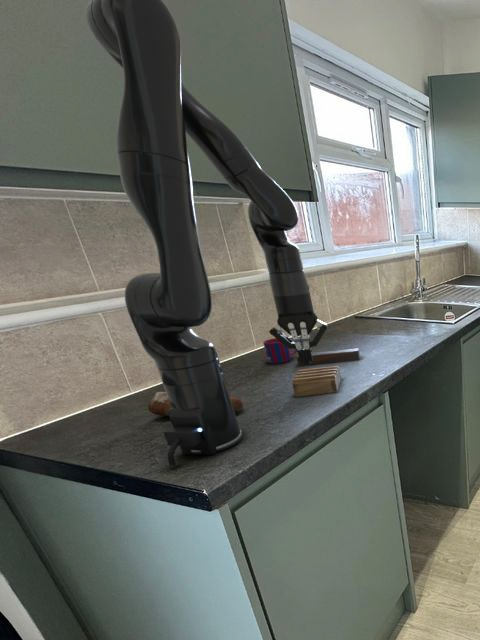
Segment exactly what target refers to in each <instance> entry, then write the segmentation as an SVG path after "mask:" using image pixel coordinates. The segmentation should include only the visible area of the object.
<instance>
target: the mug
mask: <svg viewBox="0 0 480 640" xmlns="http://www.w3.org/2000/svg"><path fill="white" fill-rule="evenodd" d="M290 339H291V340H292V341H293V339H292V337H291V338H290ZM263 347H264V351H265V355H266V358H267V363H268V364H270V365H280V364H284V363H288V362H291V361H292V356H293V355H295V354H296V353H298V351H297V350H296V349H294V351H292V352H291V349H289V348H288V347H286V346H285V345H284V344H283V343H281V342H280V341H279V340H278V339H276V338H275V337H274V338H269V339H266V340H264V341H263Z"/></svg>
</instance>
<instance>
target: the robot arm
mask: <svg viewBox="0 0 480 640" xmlns="http://www.w3.org/2000/svg"><path fill="white" fill-rule="evenodd" d="M85 19H86V23H87V26H88V29H89V30H90V32H91V34H92V35H93V37H94V38H95V40H96V41H97V42H98V44H99V45H100V46H101V47H102V49H103V50H105V52H106V53H107V54H108V55H109V56H110V57H111V59H113V60H114V61H115V62H116V63H117V64H118V65H119V66H120V67H121V68H122V70H123V83H124V84H123V93H122V98H121V103H120V109H119V113H118V119H117V125H116V136H115V137H116V138H115V148H116V156H117V157H116V158H117V163H118V171H119V177H120V181H121V185H122V188H123V191H124V193H125V195H126V196H127V198H128V200H129V202H130V204H131V205H132V206H133V208H134V209H135V211H136V213H137V214H138V215H139V217H140V218H141V219H142V221H143V223H144V224H145V225H146V227H147V229H148V230H149V232H150V234H151V236H152V237H153V240H154V244H155V247H156V250H157V257H158V263H159V272H158V273H155V272H154V273H152V272H151V273H141V274H138V275H136V276H134V277H132V278H131V279H130V280H129V281H128V282H127V284H126V286H125V289H124V302H125V307H126V310H127V313H128V316H129V318H130V320H131V323H132V325H133V328H134V329H135V332H136V334H137V336H138V338H139V341H140V343H141V346H142V347H143V350H144V351H145V352H146V353H147V355H148V356H149V357H150V358H151V359H152V360H153V361H154V363H155V366H156V369H157V371H158V374H159V377H160V379H161V382H162V385H163V388H164V390H165V391H164V392H166V394H167V397H168V399H169V402H170V405H171V408H170V409H168V414H169V416H168V418H169V420H170V422H171V427H170V428H168V429H166V430H164V431H163V432H162V433H163V436H164V438H165V441H166V443H167V446H168V447H169V449H168V451H167V461H168V464H169V466H171V467H175V466H176V465H177V463H176V459H175V452H176V450H177V448H178V447H180V450H181V453H182V455H183V456H185V455H186V456H187V455H189V456H192V455H193V456H212V455H215V454H217V453H218V452H221V451H224V450H227V449H229V448H231V447H233V446H235V445H237V444H238V443H239V442H241V440H242V439H243V433H242V430H241V428H240V426H239V422H238V418H237V416H236V415H237V414H236V413H235V412H234V408H233V405H232V402H231V399H230V397H231V395H230V393H229V389H228V386H227V382H226V379H225V376H224V373H223V368H222V365H221V362H220V359H219V356H218V355H219V354H218V351H217V349H216V346H215V345H214V343H213V342H211V341H209V340H207V339H206V338H203V337H201V336H200V335H198V334H197V333H196V332H195V331H194V330H193V329H192V328H195V327H199V326H201V325H203V324H204V323H206V322H207V321H208V319H209V318H210V315H211V313H212V307H213V297H212V291H211V285H210V282H209V277H208V273H207V269H206V265H205V259H204V256H203V253H202V247H201V241H200V237H199V236H200V235H199V230H198V222H197V217H196V210H195V209H196V208H195V200H194V187H193V179H192V171H191V164H190V159H189V158H190V157H189V153H188V151H189V150H188V143H187V136H188V137H189V138H190V139H191V140H192V142H193V143H194V144H195V145H196V146H197V147H198V149H199V150H200V151H201V153H202V154H203V155H204V156H205V157H206V159H207V160H208V161H209V162H210V163H211V165H212V166H213V168H215V170H216V171H217V173H219V175H220V176H221V178H222V179H223V180H224V182H226V184H227V185H228V186H229V187H230V188H232V190H234V191H236V192H238V193H241V194H244V196H246V197H247V198H248V199H249V200H250V201H249V204H248V206H247V216H248V220H249V224H250V226H251V229H252V231H253V233H254V235H255V237H256V239H257V242H258V244H259V246H260V247H261V249H262V252H263V254H264V258H265V263H266V267H267V272H268V278H269V284H270V289H271V292H272V293H271V294H272V296H273V302H274V305H275V309H276V313H277V320H276V323H277V324H276V325H275V326H273V327H271V328H270V330H269V334H270V335H271V336H272V337H274V338H276V339H278V340H279V341H280V342H281V343H283V344H284V345H285V346H286V347H288V348H289V349H290V350H291V349H293V350H297V355H298V356H299V360H300V362H301V363H303V364H304V365H305V366H308V365H307V364H311V362H312V360H313V354H312V353H313V349H312V348H314V347H316V346H318V344H319V342H320V341H321V339H322V338H323V336H324V334H325V332H326V331H327V329H328V327H329V324H328V322H323V321H321V320H320V319H319V318H318V316H317V315H316V313H315V311H314V307H313V306H314V305H313V301H312V297H311V291H310V285H309V283H308V279H307V276H306V273H305V270H304V267H303V261H302V256H301V251H300V249H299V246H297V245H296V244H294V243H292V242H291V241H290V240H289V238H288V236H287V233H286V232H287V231H291V230H293V229H294V228H296V226H297V225H298V223H299V211H298V210H297V209H298V208H297V207H296V205H295V203H294V202H293V199H292V198H291V197H290V196H289V195H288V194H287V193H286V191H285V190H283V188H282V187H280V185H279V184H277V183H276V181H275V180H274V179H273V178H272V177H270V175H268V174H267V173H266V172H265V171H264V170H263V169H262V168H261V166H260V165H259V163H258V162H257V160H256V158H254V156H253V154H252V153H251V152H250V150H249V149H248V147H246V145H245V144H244V142H243V141H242V140H241V137H239V136H238V134H236V132H235V131H234V130H232V128H231V126H229V125H228V124H227V123H225V121H224V120H223V119H221V118H220V117H219V116H217V115H216V114H215V113H214V112H213V111H212V110H211V109H209V108H208V107H207V106H205V105H204V104H203V103H202V101H200V100H199V99H197V97H196V96H195V95H194V94H192V93H191V91H190V90H189V89H188V88H187V87H186V85H184V83H183V82H182V44H181V36H180V31H179V28H178V25H177V23H176V20H175V18H174V16H173V14H172V12H171V11H170V9H169V7H168V6H167V5H166V3H165V2H164V1H163V0H89V1H88V3H87V5H86V7H85ZM315 326H316V330H317V333H316V334H315V336H314V338H313V339H312V340H311V333H312V332H313V330H314V328H315ZM284 331H285V332H286V333H287V334H288V335H290V336H291V338H292V339H293V340H291V338H290V337H289V336H287V335H286V334H285V333H284Z"/></svg>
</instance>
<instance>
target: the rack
mask: <svg viewBox="0 0 480 640" xmlns="http://www.w3.org/2000/svg"><path fill="white" fill-rule="evenodd" d="M341 381H342V376H341V370H340V367H339V365H331V366H322V367H321V366H320V367H313V368H303V369H298V370H297V372H296V374H295V375H294V378H292V389H293V393H294V396H295V398H298V397H299V398H300V397H306V396H313V395H324V394H330V393H331V394H332V393H338V392H339V391H338V390H339V387H340V384H341Z"/></svg>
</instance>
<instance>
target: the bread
mask: <svg viewBox="0 0 480 640" xmlns="http://www.w3.org/2000/svg"><path fill="white" fill-rule="evenodd" d="M230 399H231V402H232V405H233V408H234V412H235V414H236V413H238V412H241V411H242V410H243V408H244V405H243V404H244V403H243V401H242V399H241V398H239V397H234V396H230ZM147 408H148V411H149V412H150V413H152V414H153V415H155V416H160V417H169V414H168V409H170V408H171V405H170V402H169V399H168V397H167V394H166V391H156V392H155V393H153V395H152V397H151V399H150V401H149V402H148V403H147Z"/></svg>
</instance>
